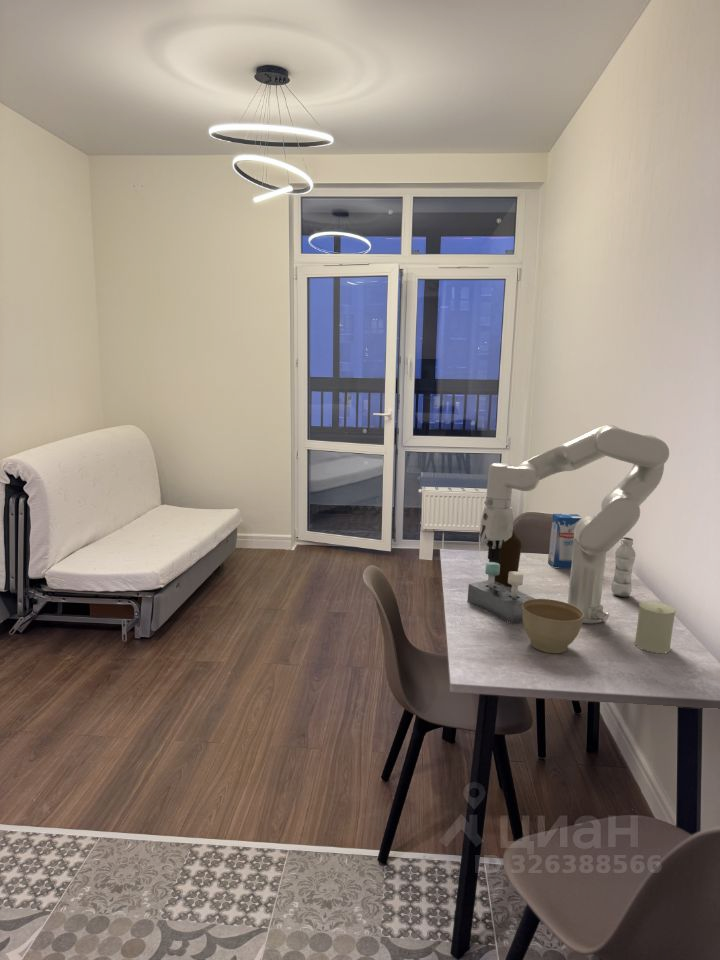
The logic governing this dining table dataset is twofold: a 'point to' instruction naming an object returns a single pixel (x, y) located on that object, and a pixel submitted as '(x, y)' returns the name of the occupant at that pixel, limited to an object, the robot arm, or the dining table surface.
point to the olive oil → (508, 559)
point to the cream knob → (515, 582)
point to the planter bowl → (551, 624)
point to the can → (654, 626)
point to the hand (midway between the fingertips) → (492, 559)
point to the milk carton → (562, 540)
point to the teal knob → (492, 572)
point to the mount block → (497, 600)
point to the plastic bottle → (623, 568)
